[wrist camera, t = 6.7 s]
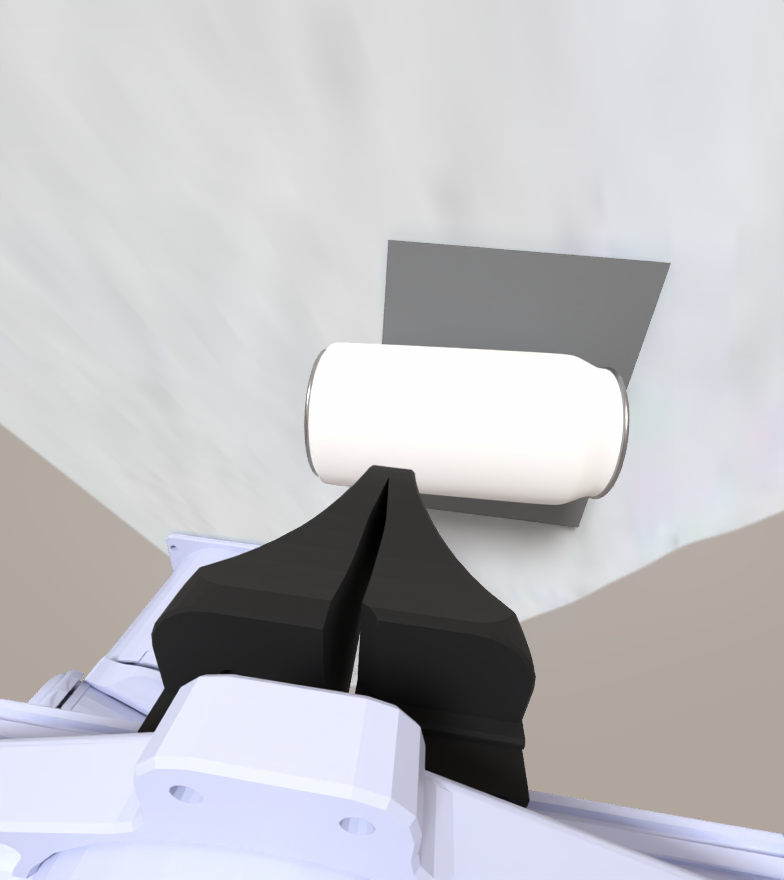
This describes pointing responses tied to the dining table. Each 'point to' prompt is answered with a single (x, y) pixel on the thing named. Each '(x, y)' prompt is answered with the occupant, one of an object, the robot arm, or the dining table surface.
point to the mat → (520, 321)
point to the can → (468, 421)
